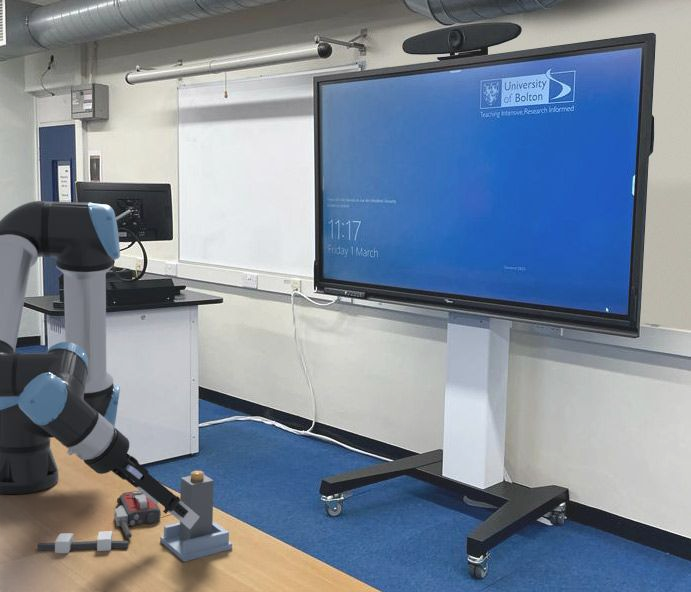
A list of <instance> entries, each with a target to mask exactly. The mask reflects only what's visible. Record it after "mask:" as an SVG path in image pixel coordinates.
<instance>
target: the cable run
mask: <svg viewBox="0 0 691 592" xmlns="http://www.w3.org/2000/svg"><path fill="white" fill-rule="evenodd" d="M74 535H75V534H74V533H71V532H69V533H67V532H66V533H64V532H63V533H62V532H61V533H59V534H58V536H57V538H56V539H55V541H54V542H38V543H37V544H36V545H37V546H36V551H54V553H55V554H69V553H70V551H71V550H86V549H88V550H89V549H96V551H97V552H102V551H103V552H105V551H106V552H107V551H109V552H110V551H111V550H112V549H128V547H129V545H130V544H129V543H130V541H129V540H113V530H109V531H108V530H107V531H106V530H104V531H98V535H97V539H96V540H87V541H74Z"/></svg>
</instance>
